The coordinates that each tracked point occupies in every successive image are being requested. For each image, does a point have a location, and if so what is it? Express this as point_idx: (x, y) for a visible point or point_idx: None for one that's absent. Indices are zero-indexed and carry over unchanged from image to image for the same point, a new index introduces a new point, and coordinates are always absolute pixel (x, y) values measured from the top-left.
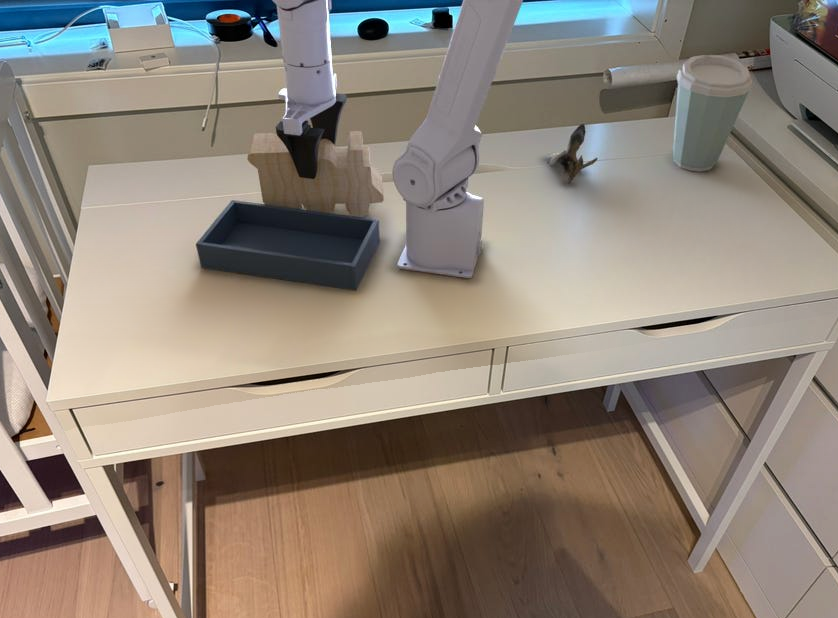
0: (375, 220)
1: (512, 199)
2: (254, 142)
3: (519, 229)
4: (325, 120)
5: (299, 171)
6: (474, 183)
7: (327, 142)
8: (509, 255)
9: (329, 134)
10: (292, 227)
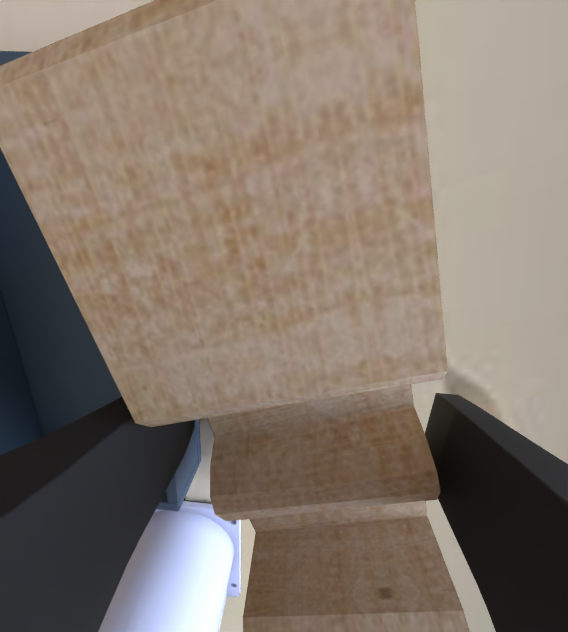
0: (171, 507)
1: None
2: (186, 34)
3: None
4: (546, 628)
5: None
6: (457, 584)
7: (403, 498)
8: (224, 613)
9: (471, 523)
10: None
